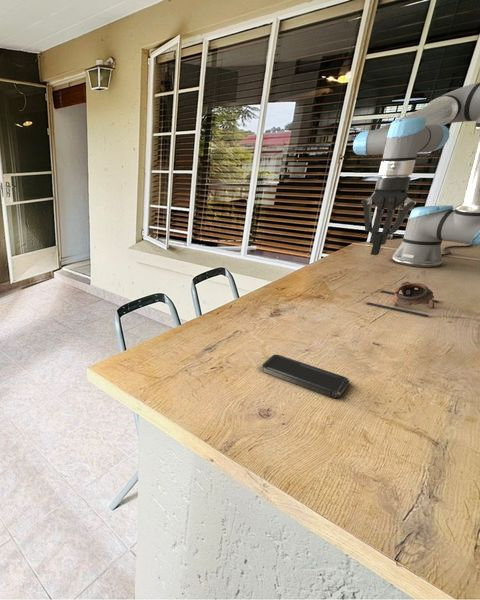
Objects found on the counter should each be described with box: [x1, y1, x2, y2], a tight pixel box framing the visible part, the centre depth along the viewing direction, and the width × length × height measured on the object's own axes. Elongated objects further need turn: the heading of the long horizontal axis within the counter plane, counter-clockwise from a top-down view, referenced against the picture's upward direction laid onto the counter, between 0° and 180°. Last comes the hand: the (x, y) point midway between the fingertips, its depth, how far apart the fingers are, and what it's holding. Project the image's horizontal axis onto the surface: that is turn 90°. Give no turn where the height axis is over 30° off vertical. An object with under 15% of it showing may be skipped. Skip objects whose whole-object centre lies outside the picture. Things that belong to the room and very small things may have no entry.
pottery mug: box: [392, 281, 436, 309], centre depth 107 cm, size 12×10×8 cm
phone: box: [261, 354, 350, 399], centre depth 76 cm, size 8×1×15 cm
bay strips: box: [366, 289, 440, 318], centre depth 109 cm, size 16×14×1 cm
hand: (374, 254), depth 112 cm, fingers closed
